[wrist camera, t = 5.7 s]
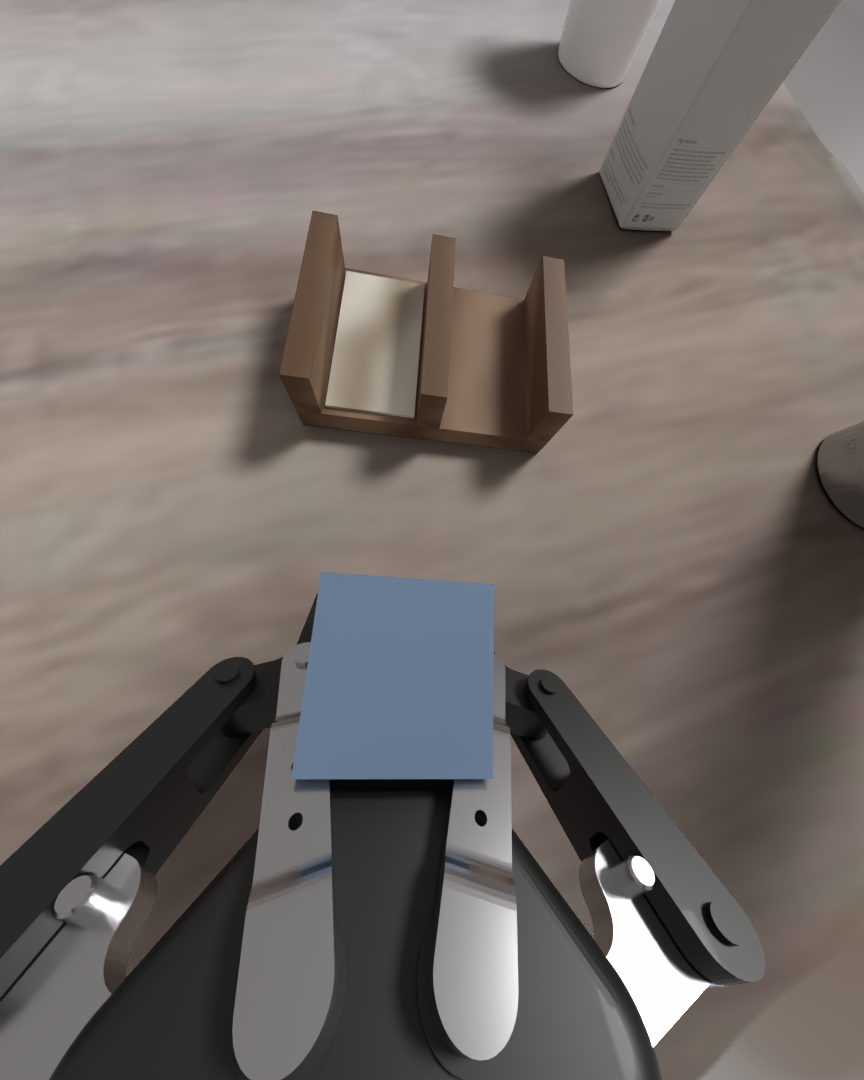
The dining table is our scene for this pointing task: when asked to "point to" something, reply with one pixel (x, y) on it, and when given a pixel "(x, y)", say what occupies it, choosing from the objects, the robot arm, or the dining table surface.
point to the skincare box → (701, 101)
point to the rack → (426, 351)
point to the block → (398, 681)
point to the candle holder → (604, 38)
